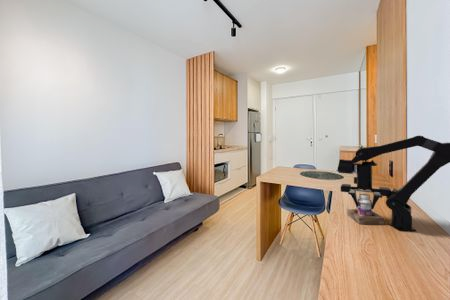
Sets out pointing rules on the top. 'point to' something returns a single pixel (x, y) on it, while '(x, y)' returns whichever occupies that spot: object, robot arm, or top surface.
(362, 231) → the top surface
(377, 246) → the top surface
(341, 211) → the top surface
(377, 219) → the socket
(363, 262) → the top surface
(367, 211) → the pill bottle
